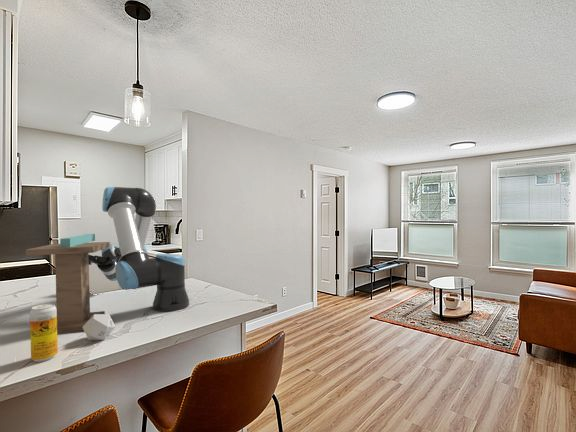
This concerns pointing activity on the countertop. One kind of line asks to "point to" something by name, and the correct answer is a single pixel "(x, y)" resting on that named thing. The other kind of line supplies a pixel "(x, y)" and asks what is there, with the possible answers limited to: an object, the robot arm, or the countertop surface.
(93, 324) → the die
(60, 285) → the walnut pedestal
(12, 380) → the countertop surface
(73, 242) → the teal bar
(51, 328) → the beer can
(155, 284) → the robot arm
